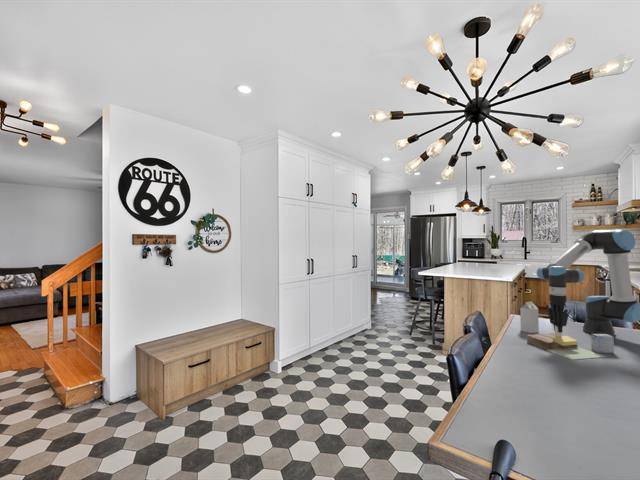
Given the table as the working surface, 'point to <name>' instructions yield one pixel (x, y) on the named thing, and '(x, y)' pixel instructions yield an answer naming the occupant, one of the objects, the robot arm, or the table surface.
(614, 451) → the table surface
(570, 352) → the mat
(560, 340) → the yellow sponge block
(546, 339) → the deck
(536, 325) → the milk carton
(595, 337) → the medicine box
